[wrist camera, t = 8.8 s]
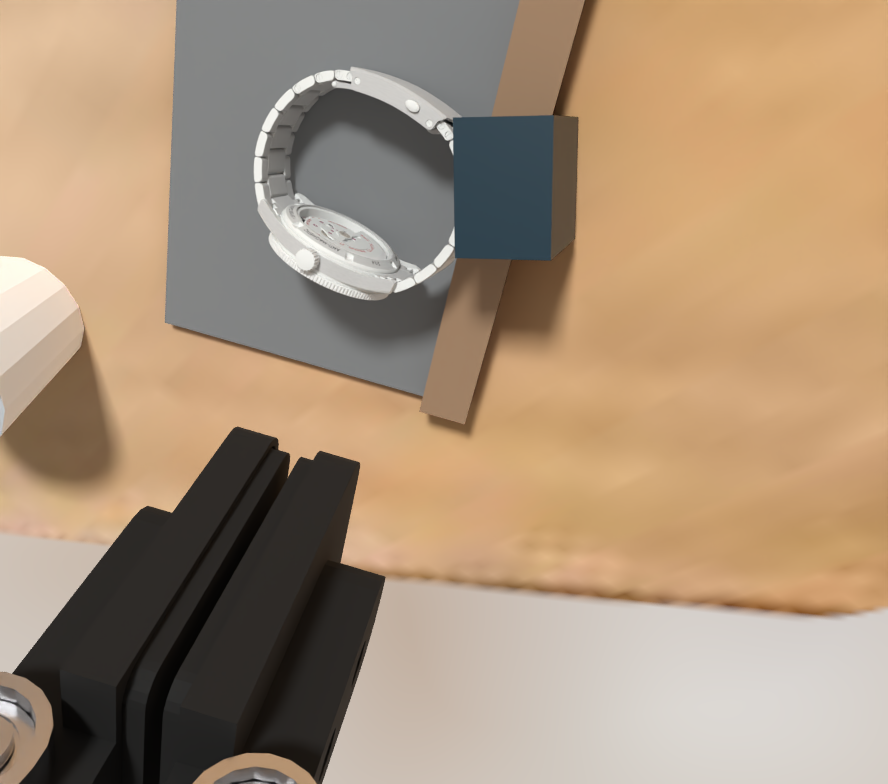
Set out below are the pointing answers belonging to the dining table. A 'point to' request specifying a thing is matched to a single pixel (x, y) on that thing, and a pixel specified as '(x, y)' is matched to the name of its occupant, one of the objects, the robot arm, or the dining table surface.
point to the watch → (475, 189)
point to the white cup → (32, 333)
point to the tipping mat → (347, 174)
